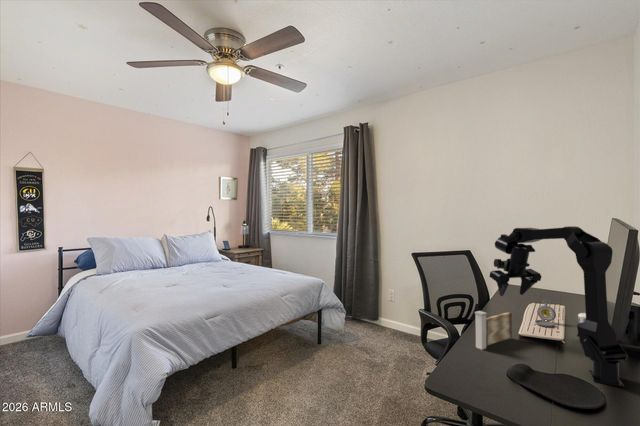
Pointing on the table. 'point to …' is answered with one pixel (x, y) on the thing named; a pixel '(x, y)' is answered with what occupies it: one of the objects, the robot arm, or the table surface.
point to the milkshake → (582, 317)
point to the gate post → (480, 329)
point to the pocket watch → (546, 311)
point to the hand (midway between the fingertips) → (511, 295)
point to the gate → (498, 328)
